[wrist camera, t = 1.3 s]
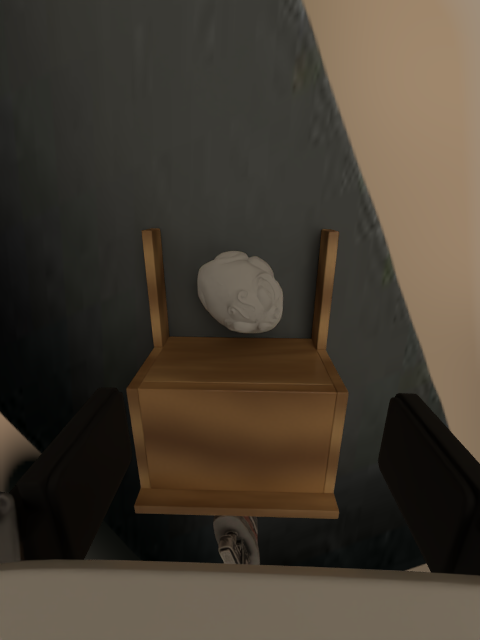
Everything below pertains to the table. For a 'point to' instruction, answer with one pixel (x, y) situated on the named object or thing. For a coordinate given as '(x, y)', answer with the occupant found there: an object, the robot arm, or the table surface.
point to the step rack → (238, 413)
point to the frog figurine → (241, 292)
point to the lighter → (237, 539)
